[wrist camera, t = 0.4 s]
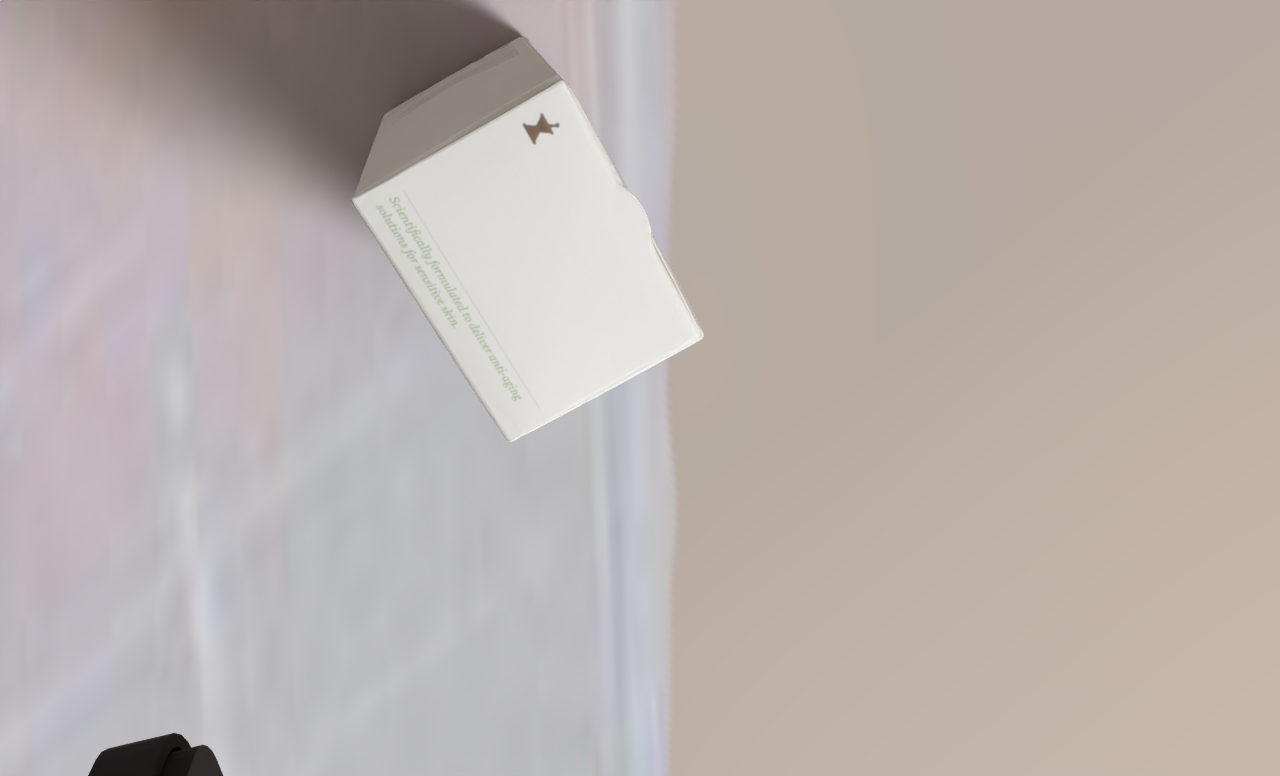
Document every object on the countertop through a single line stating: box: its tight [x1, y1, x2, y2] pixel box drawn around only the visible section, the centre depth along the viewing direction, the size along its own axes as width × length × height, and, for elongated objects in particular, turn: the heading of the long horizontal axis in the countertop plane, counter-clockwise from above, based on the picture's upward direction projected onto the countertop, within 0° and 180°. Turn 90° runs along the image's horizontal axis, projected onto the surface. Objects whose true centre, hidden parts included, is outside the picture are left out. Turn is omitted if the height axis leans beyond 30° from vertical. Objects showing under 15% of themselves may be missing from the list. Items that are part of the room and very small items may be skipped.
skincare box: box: [351, 37, 704, 442], centre depth 37 cm, size 8×7×16 cm
